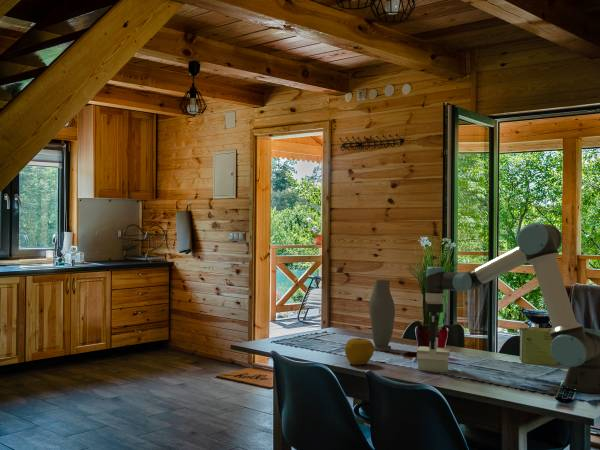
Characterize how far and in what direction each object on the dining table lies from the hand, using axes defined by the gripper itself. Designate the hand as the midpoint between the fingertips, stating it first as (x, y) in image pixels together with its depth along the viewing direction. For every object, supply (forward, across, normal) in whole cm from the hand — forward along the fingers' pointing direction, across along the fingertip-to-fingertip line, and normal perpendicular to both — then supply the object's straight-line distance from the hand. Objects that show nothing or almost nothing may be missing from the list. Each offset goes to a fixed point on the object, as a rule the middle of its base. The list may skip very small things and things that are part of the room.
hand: (433, 354), depth 273 cm
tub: (+6, 0, 0) cm, 6 cm away
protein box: (+7, +37, -45) cm, 59 cm away
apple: (+7, -1, +32) cm, 33 cm away
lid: (-1, 0, 0) cm, 1 cm away
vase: (+7, +43, +29) cm, 52 cm away
